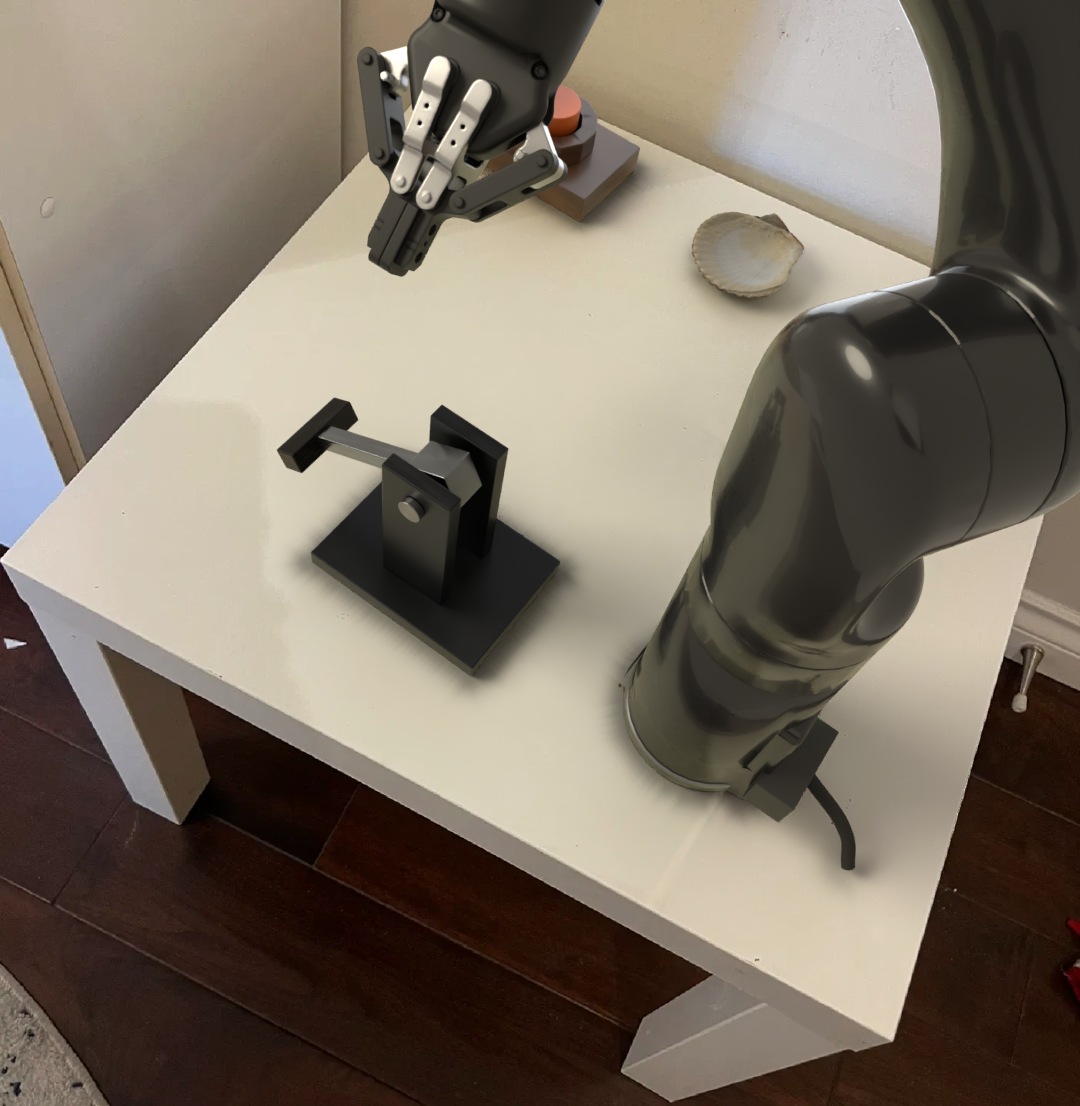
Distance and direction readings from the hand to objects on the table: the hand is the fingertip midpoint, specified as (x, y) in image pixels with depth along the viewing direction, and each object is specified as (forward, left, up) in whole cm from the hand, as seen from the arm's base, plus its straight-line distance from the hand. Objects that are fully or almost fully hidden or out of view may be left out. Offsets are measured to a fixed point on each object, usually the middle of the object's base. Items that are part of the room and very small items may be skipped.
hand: (386, 268), depth 56 cm
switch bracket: (-9, +6, -14) cm, 18 cm away
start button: (+7, -28, -10) cm, 31 cm away
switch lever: (-5, +6, -7) cm, 11 cm away
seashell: (-11, -29, -14) cm, 34 cm away
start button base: (+7, -28, -14) cm, 32 cm away
